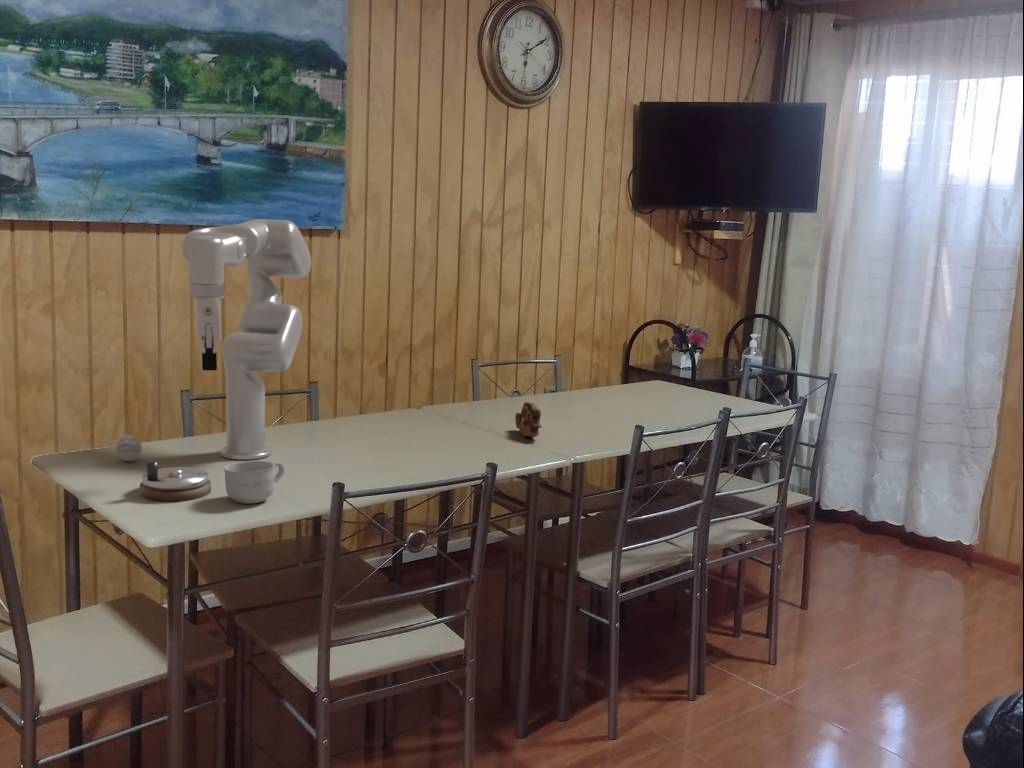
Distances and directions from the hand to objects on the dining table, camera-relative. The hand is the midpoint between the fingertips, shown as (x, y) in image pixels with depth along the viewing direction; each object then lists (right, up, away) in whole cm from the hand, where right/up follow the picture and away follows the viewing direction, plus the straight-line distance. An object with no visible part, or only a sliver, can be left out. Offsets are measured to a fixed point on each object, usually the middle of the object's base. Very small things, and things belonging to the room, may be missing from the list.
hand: (209, 369), depth 229 cm
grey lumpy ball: (-24, -23, +15) cm, 37 cm away
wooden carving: (+74, -19, +60) cm, 97 cm away
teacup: (+14, -29, -10) cm, 34 cm away
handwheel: (-5, -25, -8) cm, 27 cm away
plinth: (-5, -27, -8) cm, 29 cm away
